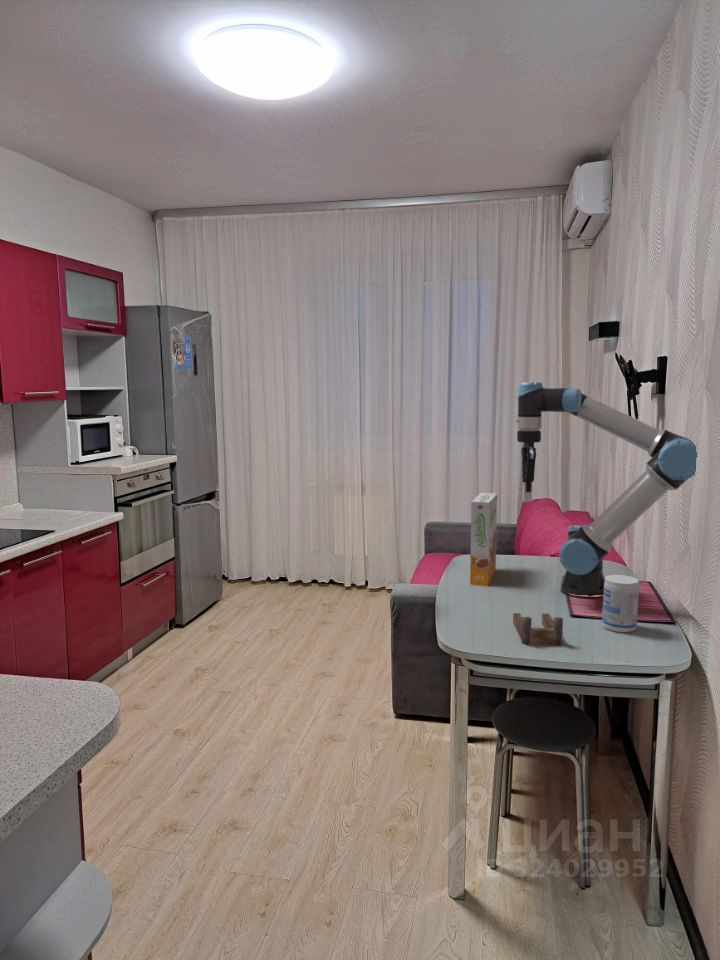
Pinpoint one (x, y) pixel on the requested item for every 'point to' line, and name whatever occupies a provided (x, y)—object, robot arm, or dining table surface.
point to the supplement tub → (620, 603)
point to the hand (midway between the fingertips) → (527, 501)
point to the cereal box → (483, 538)
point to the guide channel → (539, 630)
